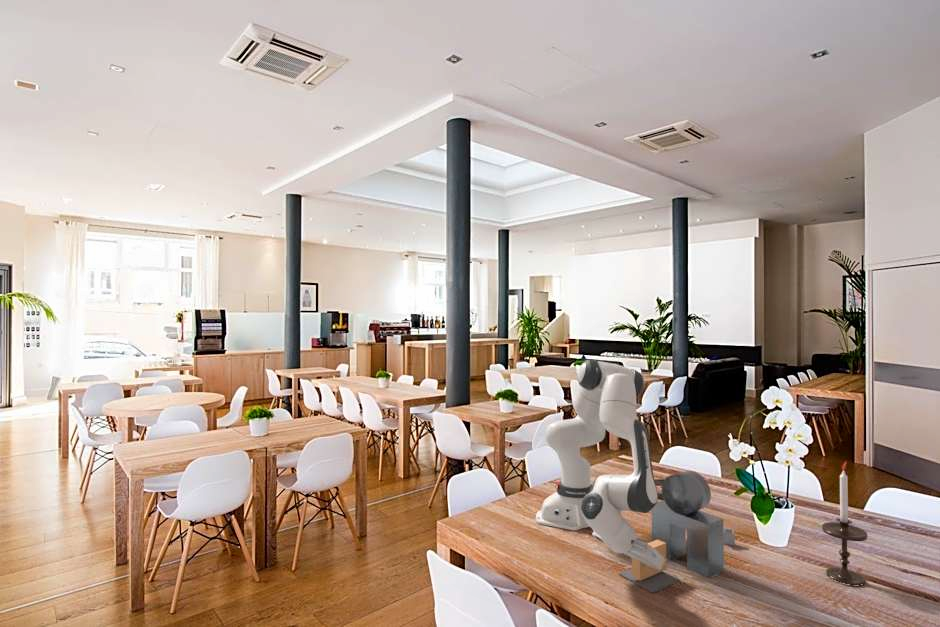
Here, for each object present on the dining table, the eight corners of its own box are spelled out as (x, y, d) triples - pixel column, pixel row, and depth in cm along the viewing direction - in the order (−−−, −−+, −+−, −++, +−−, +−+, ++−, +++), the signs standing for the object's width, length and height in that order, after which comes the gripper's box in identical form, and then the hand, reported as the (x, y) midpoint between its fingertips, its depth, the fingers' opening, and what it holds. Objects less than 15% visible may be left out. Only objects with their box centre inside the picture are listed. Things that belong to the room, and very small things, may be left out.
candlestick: (877, 584, 147) (875, 463, 147) (849, 590, 144) (848, 467, 144) (840, 567, 158) (839, 454, 158) (813, 572, 155) (812, 457, 155)
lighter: (734, 543, 174) (733, 520, 174) (735, 545, 173) (734, 522, 173) (711, 540, 177) (711, 517, 177) (712, 543, 175) (711, 519, 175)
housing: (708, 578, 151) (707, 484, 151) (651, 552, 168) (651, 467, 168) (723, 571, 156) (722, 479, 156) (667, 546, 172) (666, 463, 173)
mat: (652, 593, 144) (652, 591, 144) (619, 575, 154) (619, 573, 154) (678, 580, 150) (678, 579, 150) (645, 564, 160) (645, 562, 160)
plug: (640, 580, 147) (639, 553, 147) (631, 576, 150) (631, 549, 150) (666, 569, 154) (666, 543, 154) (657, 565, 156) (657, 539, 156)
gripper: (655, 539, 138) (677, 565, 143) (598, 514, 155) (620, 539, 160) (644, 559, 135) (667, 586, 140) (587, 532, 152) (610, 557, 158)
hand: (642, 560), depth 150 cm, fingers closed on plug, 3 cm apart
